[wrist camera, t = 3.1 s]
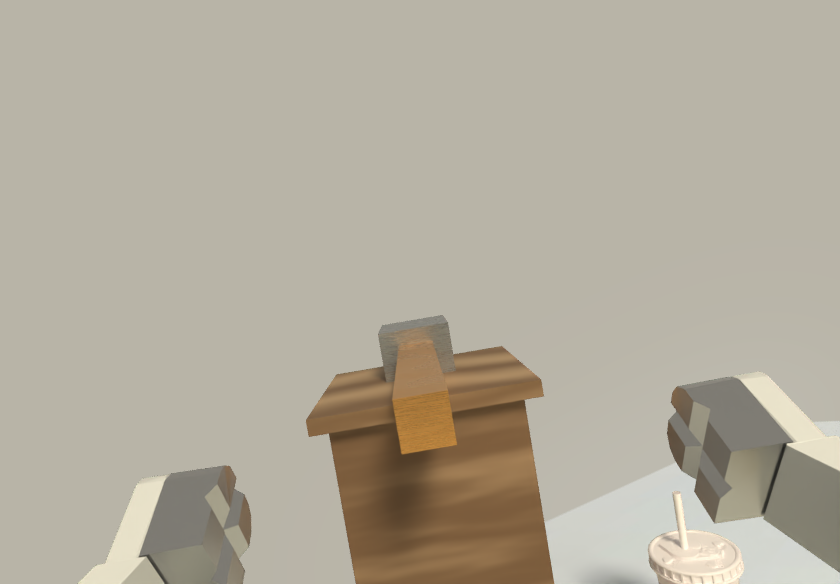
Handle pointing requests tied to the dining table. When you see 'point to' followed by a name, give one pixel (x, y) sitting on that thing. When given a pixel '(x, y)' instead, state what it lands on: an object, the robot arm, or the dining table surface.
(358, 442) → the stand
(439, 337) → the mallet
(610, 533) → the dining table surface
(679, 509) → the smoothie
